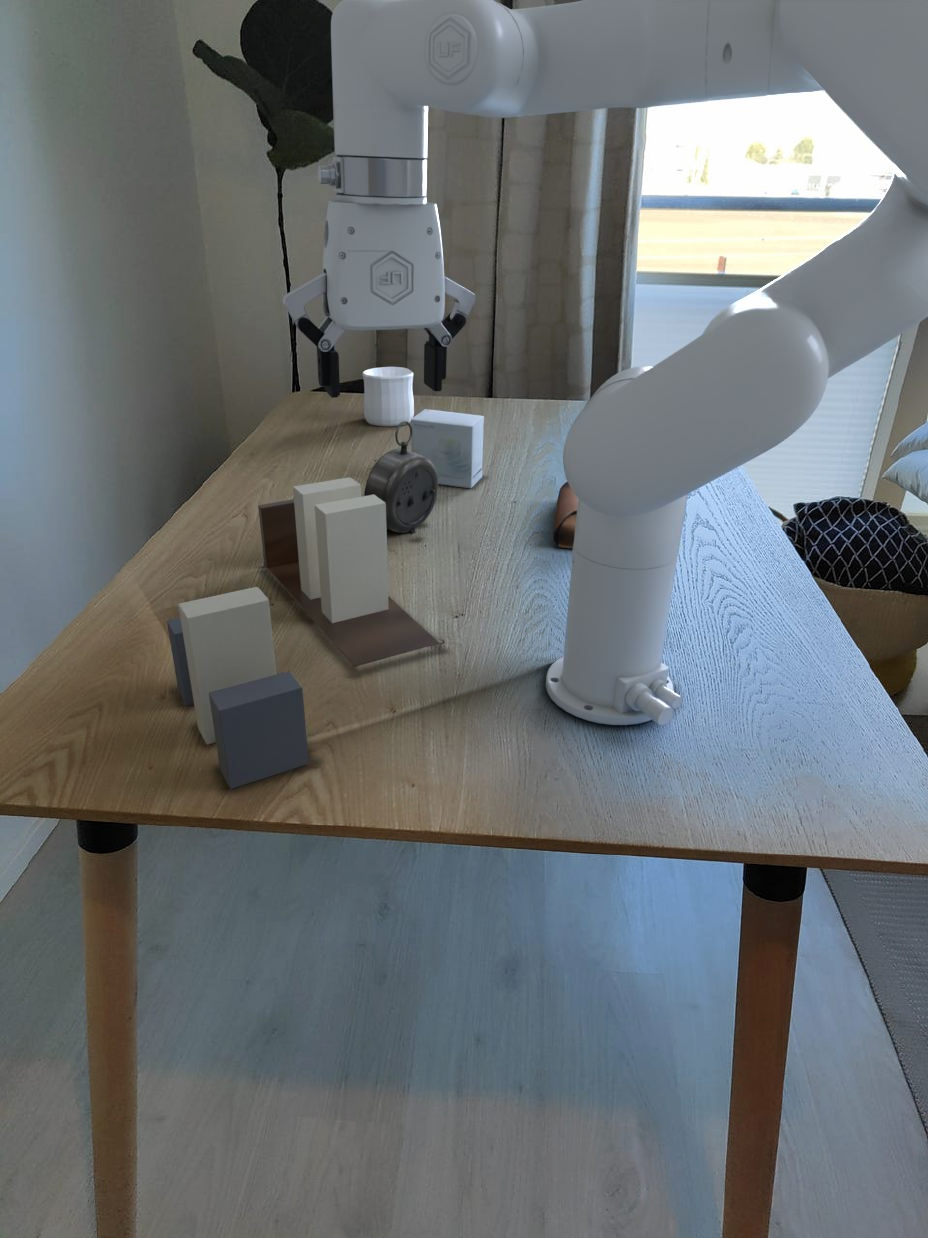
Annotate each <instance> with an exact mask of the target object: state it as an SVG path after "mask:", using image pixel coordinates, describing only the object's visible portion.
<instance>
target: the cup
mask: <svg viewBox="0 0 928 1238" xmlns="http://www.w3.org/2000/svg"><path fill="white" fill-rule="evenodd" d="M414 374H415V373H414V372H413V371H412V370H411V369H409V368H407V367H403V366H402V367H401V366H383V367H373V368H368V369H366V370H364V371H363V372H362V378H363V387H364V388H363V389H364V391H363V414H364V419H365V421H366V422H367V423H368V424H369V425H370V426H371V425H372V426H376V427H398V425H399V424H400V423H401V422H402V421H408V422H409V423H410V424H411V419H412V418H413V417H415V402H414V401H415V400H414V399H415V398H414V392H413V381H414ZM404 425H407V424H406V423H404V424H402V425H401V426H404Z"/></svg>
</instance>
